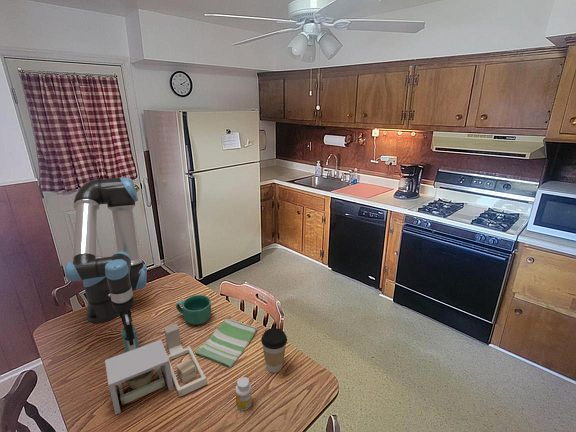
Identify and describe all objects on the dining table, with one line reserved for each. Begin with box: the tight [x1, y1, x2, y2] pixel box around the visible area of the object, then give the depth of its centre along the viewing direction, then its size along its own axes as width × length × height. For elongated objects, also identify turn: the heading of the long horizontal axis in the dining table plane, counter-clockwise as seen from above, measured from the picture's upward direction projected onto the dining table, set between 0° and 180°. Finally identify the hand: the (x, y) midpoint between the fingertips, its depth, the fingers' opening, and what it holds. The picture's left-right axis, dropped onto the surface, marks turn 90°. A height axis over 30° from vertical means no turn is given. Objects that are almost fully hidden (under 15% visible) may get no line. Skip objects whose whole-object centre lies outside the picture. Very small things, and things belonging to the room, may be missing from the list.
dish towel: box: [194, 317, 258, 369], centre depth 134 cm, size 18×23×3 cm
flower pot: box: [124, 369, 155, 390], centre depth 112 cm, size 10×10×7 cm
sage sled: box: [117, 325, 166, 406], centre depth 118 cm, size 28×14×9 cm, turn 34°
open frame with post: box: [164, 323, 208, 398], centre depth 120 cm, size 28×10×9 cm, turn 34°
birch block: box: [175, 358, 197, 384], centre depth 117 cm, size 5×5×5 cm
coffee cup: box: [260, 327, 288, 374], centre depth 120 cm, size 10×10×15 cm
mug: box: [175, 294, 212, 325], centre depth 147 cm, size 17×13×10 cm
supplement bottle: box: [234, 376, 253, 411], centre depth 106 cm, size 5×5×10 cm
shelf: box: [104, 339, 174, 415], centre depth 110 cm, size 12×18×13 cm, turn 124°
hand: (131, 346), depth 129 cm, fingers closed on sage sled, 4 cm apart
